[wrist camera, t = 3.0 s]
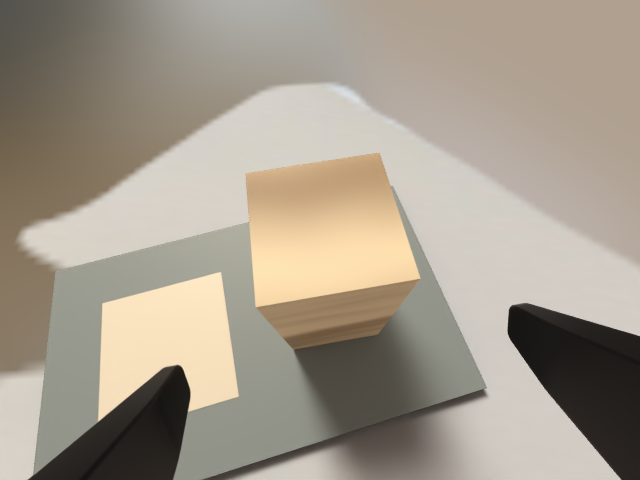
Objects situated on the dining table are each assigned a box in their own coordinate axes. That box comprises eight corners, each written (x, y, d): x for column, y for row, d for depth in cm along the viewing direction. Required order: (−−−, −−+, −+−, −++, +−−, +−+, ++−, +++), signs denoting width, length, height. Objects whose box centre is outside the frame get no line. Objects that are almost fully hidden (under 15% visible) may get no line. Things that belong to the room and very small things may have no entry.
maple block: (377, 334, 18) (420, 278, 9) (293, 350, 18) (255, 307, 9) (358, 257, 21) (379, 152, 12) (283, 270, 20) (245, 173, 11)
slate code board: (391, 190, 24) (392, 185, 23) (482, 387, 18) (487, 387, 17) (62, 274, 22) (54, 270, 21) (37, 531, 15) (25, 536, 15)
